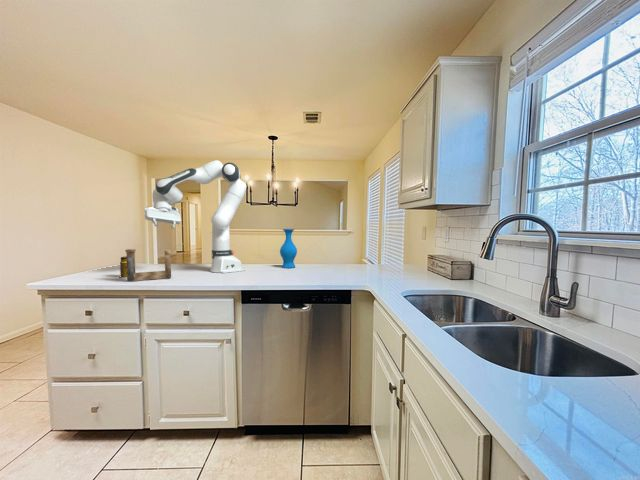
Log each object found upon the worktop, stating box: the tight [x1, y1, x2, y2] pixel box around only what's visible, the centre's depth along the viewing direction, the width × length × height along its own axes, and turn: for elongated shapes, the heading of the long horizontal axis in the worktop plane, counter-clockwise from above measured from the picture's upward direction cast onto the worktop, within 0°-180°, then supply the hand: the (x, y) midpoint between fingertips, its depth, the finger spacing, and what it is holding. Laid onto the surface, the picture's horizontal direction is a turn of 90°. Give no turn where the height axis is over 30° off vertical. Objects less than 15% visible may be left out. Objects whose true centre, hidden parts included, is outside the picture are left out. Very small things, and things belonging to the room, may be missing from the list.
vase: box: [279, 228, 298, 269], centre depth 206 cm, size 12×13×28 cm
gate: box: [128, 248, 172, 282], centre depth 159 cm, size 21×3×17 cm, turn 121°
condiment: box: [115, 255, 127, 278], centre depth 167 cm, size 7×8×12 cm
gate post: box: [125, 248, 136, 282], centre depth 158 cm, size 4×4×17 cm
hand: (164, 226), depth 173 cm, fingers open, 8 cm apart
